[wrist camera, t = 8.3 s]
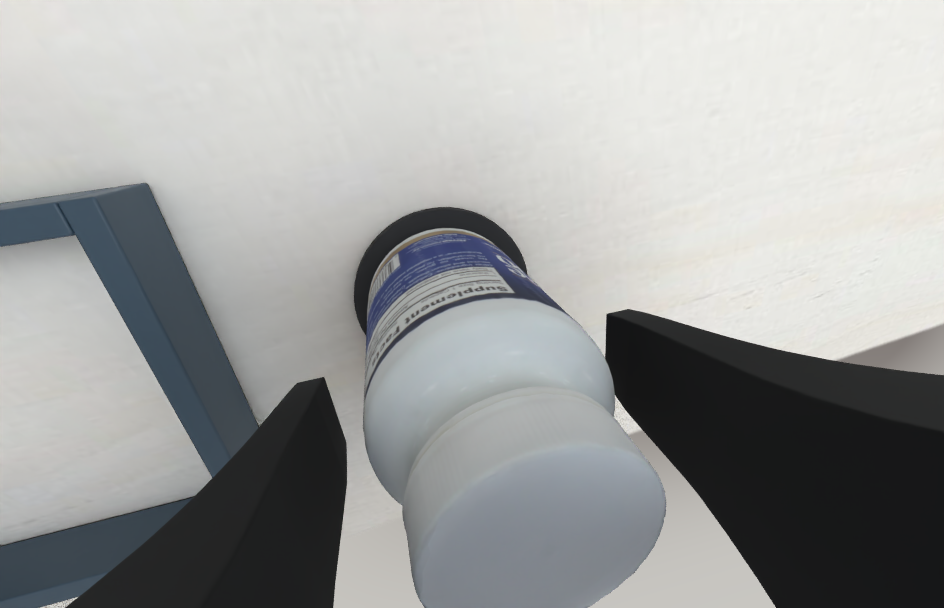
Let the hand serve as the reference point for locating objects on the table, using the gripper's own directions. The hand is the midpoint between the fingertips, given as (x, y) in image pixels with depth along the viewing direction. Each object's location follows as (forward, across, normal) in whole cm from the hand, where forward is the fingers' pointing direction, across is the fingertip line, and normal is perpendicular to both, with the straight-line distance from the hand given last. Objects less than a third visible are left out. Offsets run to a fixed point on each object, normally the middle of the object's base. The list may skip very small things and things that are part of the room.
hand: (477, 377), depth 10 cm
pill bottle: (+5, 0, 0) cm, 5 cm away
